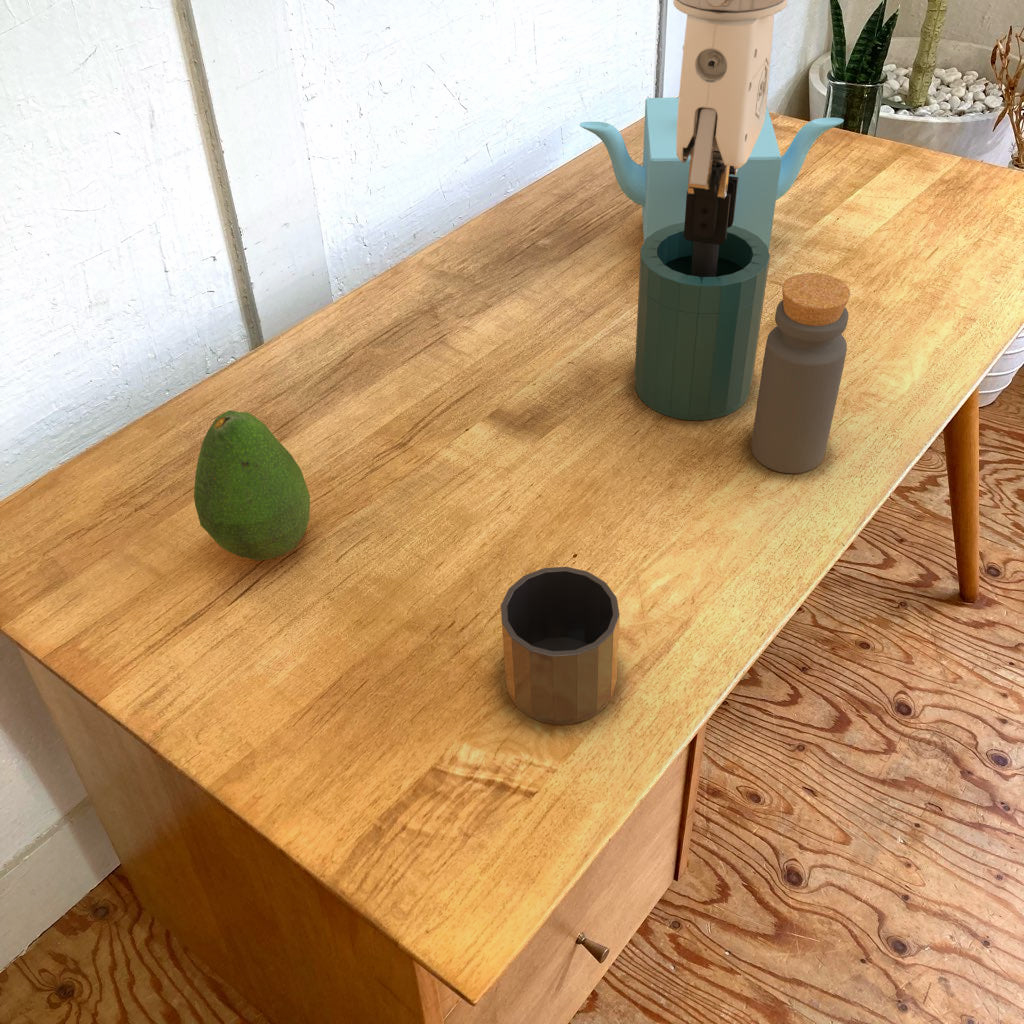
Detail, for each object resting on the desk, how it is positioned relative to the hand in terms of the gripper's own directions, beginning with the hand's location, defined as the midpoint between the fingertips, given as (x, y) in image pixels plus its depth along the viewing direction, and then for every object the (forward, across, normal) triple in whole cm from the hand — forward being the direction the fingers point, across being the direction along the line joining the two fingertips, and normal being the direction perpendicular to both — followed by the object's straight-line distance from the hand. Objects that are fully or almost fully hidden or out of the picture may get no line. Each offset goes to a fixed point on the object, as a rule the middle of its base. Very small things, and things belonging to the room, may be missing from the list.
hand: (708, 230), depth 82 cm
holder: (+15, -34, +1) cm, 37 cm away
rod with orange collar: (+14, 0, 0) cm, 14 cm away
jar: (+15, 0, 0) cm, 15 cm away
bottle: (+15, -7, -9) cm, 19 cm away
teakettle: (+15, +25, +5) cm, 29 cm away
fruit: (+15, -29, +26) cm, 42 cm away
